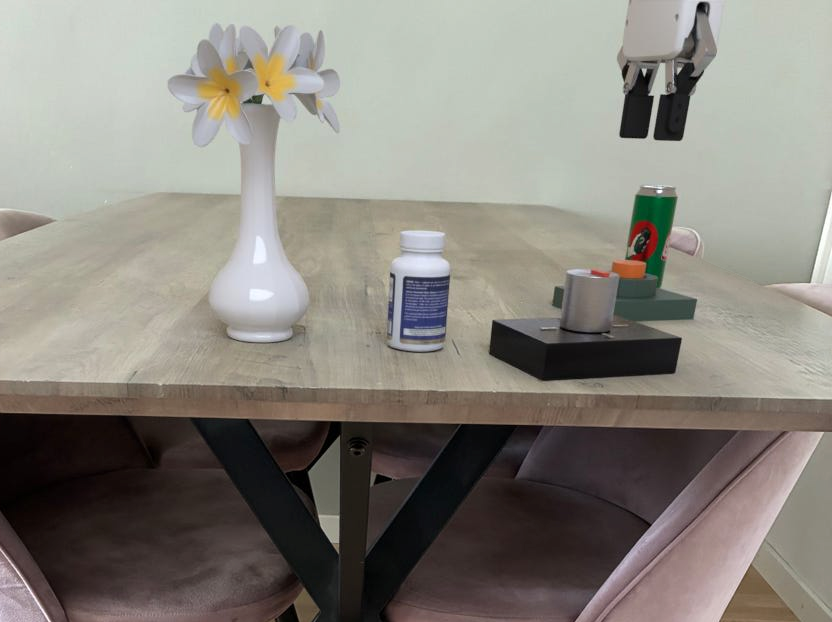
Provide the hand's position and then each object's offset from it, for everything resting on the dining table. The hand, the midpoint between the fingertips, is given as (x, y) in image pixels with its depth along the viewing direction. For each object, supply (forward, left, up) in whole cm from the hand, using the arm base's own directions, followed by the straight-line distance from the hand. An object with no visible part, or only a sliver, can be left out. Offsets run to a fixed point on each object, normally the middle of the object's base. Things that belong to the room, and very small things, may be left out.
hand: (650, 137), depth 98 cm
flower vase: (+43, +6, -18) cm, 47 cm away
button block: (0, 0, -17) cm, 17 cm away
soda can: (-12, -14, -18) cm, 26 cm away
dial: (+18, +21, -14) cm, 31 cm away
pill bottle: (+30, +12, -18) cm, 37 cm away
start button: (0, 0, -14) cm, 14 cm away
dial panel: (+18, +21, -17) cm, 33 cm away
